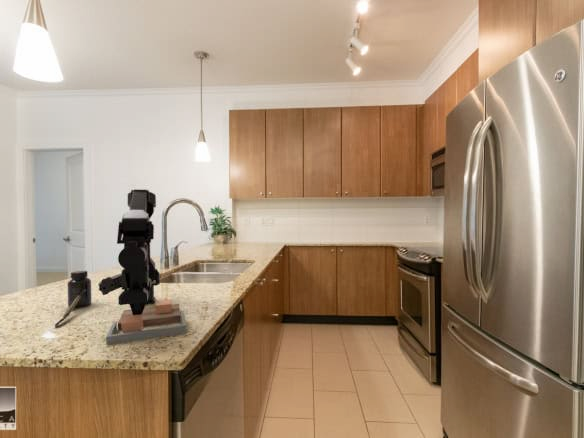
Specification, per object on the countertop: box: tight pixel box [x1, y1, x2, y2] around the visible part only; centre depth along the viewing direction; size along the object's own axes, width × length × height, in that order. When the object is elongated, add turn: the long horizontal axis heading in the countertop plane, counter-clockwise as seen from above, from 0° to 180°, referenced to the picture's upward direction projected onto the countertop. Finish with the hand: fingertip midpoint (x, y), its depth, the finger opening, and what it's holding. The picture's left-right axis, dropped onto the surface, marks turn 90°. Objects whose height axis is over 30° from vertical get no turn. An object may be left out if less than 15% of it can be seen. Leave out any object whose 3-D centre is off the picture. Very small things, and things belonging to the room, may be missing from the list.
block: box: [155, 299, 173, 314], centre depth 90 cm, size 4×4×2 cm
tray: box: [105, 313, 187, 346], centre depth 78 cm, size 10×18×3 cm, turn 113°
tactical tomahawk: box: [54, 289, 86, 327], centre depth 91 cm, size 21×7×1 cm
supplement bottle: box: [67, 270, 93, 309], centre depth 104 cm, size 7×7×12 cm
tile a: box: [121, 314, 144, 334], centre depth 77 cm, size 4×4×2 cm
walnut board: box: [117, 303, 181, 331], centre depth 89 cm, size 12×16×2 cm
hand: (137, 321), depth 79 cm, fingers closed
